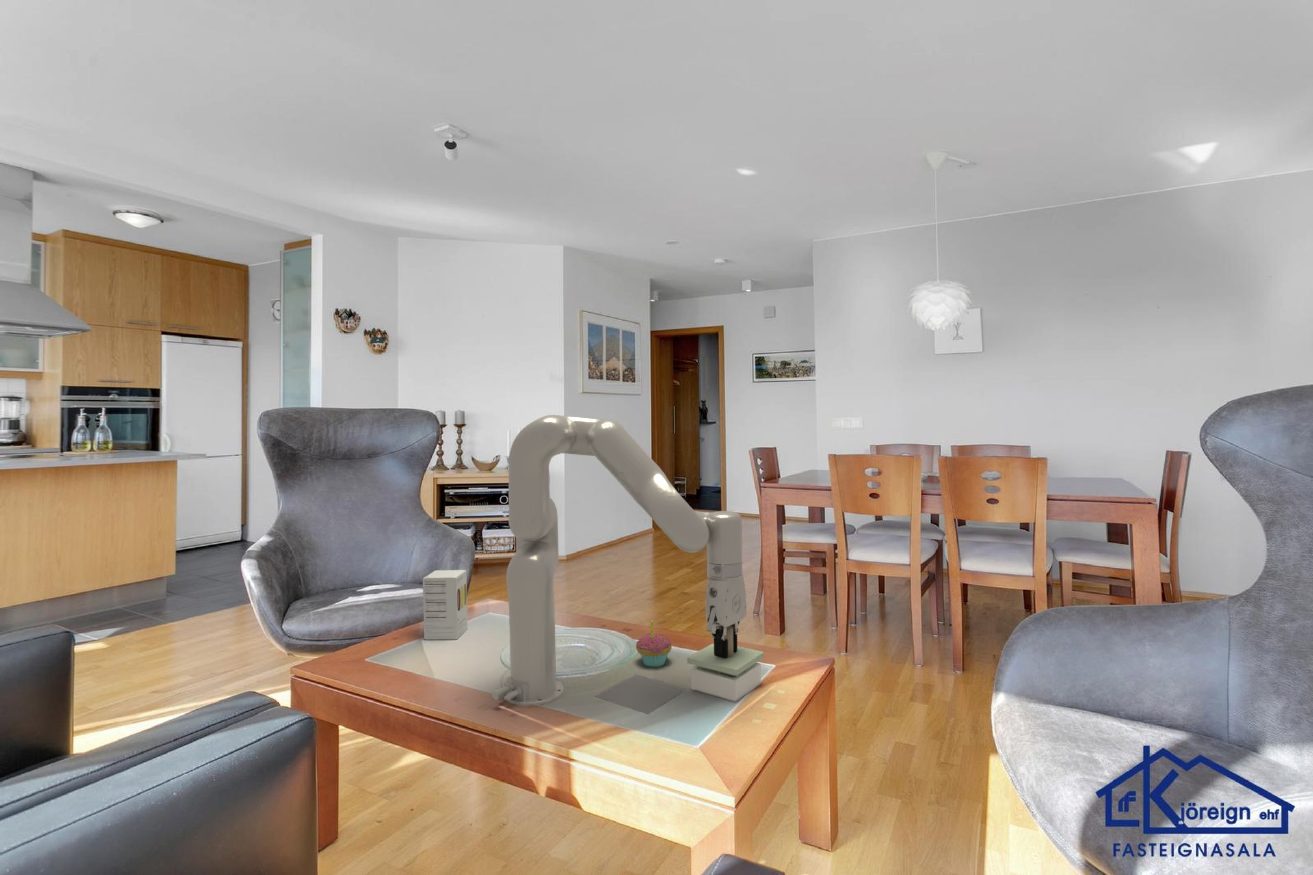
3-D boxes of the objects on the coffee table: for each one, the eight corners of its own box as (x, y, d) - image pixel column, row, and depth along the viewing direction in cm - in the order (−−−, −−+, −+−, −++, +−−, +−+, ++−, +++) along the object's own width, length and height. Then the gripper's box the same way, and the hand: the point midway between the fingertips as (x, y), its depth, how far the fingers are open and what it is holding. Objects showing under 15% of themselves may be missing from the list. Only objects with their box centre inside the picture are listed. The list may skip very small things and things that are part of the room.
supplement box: (457, 640, 172) (456, 577, 172) (423, 640, 172) (421, 578, 172) (468, 628, 182) (467, 569, 181) (435, 628, 182) (434, 569, 181)
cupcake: (668, 672, 148) (667, 621, 148) (632, 670, 150) (631, 619, 150) (674, 659, 157) (673, 610, 156) (640, 656, 158) (639, 608, 158)
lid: (736, 675, 131) (736, 640, 130) (687, 662, 138) (686, 629, 138) (763, 657, 140) (763, 624, 140) (716, 646, 147) (716, 615, 147)
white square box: (735, 704, 132) (735, 680, 131) (690, 691, 138) (690, 668, 138) (760, 686, 140) (760, 663, 140) (717, 674, 147) (717, 652, 147)
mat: (647, 716, 127) (647, 713, 127) (594, 698, 135) (594, 696, 135) (687, 691, 138) (687, 689, 138) (636, 676, 146) (636, 674, 146)
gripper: (720, 580, 130) (721, 670, 130) (758, 564, 143) (759, 646, 143) (688, 574, 134) (690, 662, 135) (728, 560, 147) (729, 639, 148)
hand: (725, 652), depth 139 cm, fingers closed on lid, 3 cm apart
